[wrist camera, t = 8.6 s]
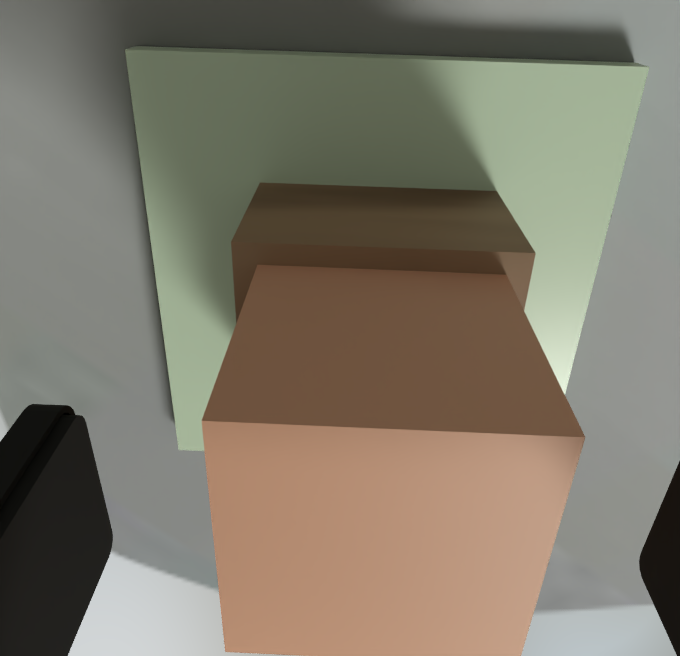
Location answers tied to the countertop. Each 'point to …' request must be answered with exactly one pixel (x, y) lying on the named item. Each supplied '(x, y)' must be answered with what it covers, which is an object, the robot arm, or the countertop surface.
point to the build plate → (370, 168)
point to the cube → (384, 465)
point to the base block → (380, 232)
